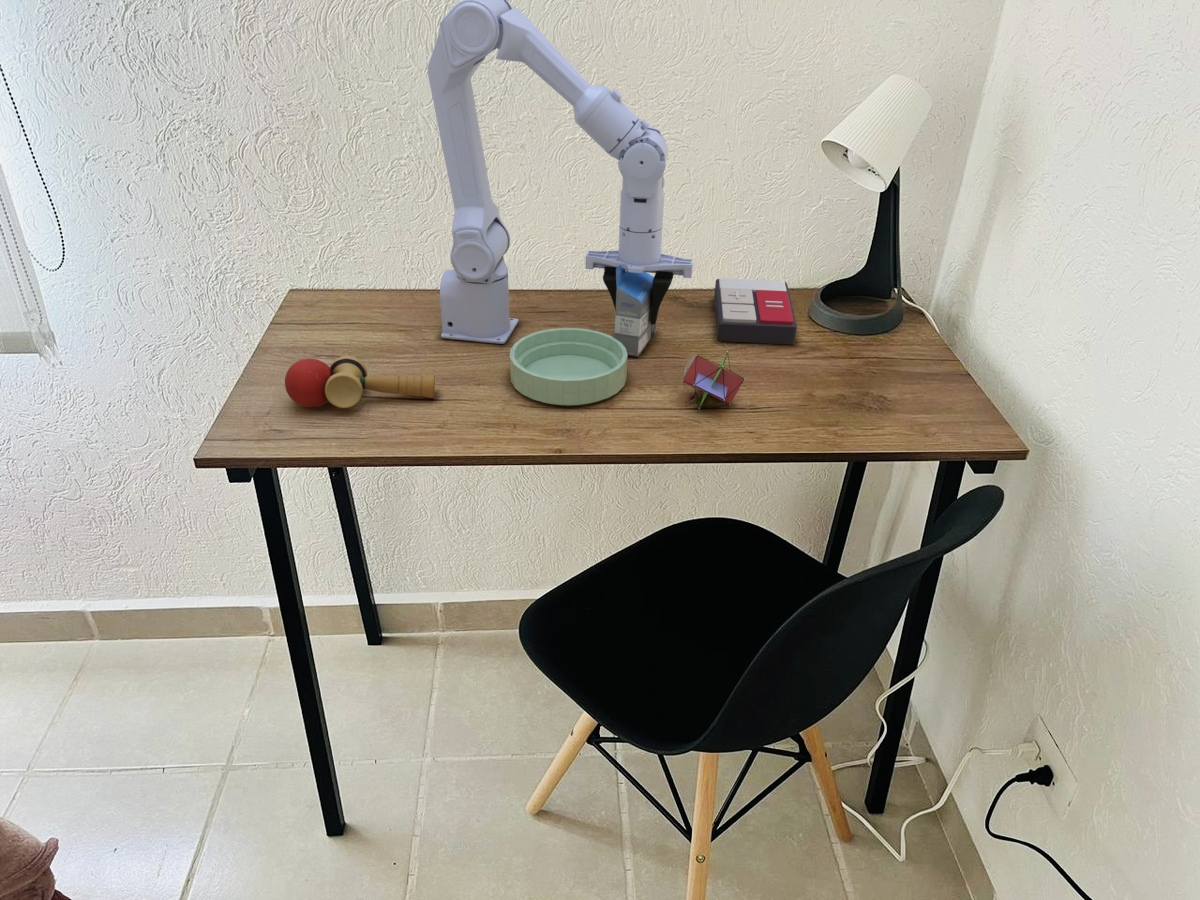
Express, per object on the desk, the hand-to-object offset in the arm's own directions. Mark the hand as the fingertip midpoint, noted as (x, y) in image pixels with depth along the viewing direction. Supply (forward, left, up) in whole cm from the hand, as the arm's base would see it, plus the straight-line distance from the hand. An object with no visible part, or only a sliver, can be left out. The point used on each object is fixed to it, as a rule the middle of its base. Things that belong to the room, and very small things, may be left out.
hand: (636, 320), depth 129 cm
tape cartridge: (0, 0, -4) cm, 4 cm away
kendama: (-31, -24, -4) cm, 39 cm away
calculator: (+16, +11, -4) cm, 20 cm away
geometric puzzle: (+12, -15, -4) cm, 20 cm away
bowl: (-7, -13, -3) cm, 15 cm away
